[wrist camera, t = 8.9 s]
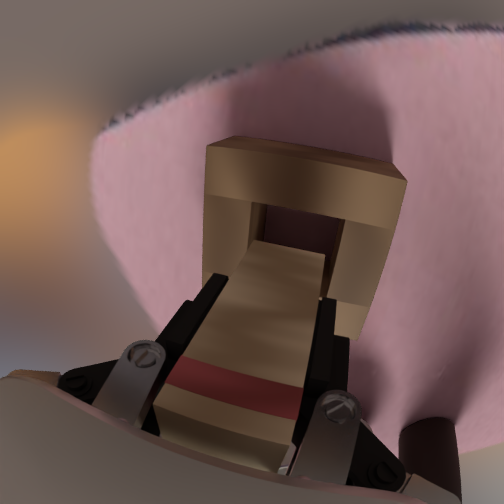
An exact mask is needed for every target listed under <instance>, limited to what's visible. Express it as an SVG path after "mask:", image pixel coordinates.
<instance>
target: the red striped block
mask: <svg viewBox="0 0 504 504" xmlns="http://www.w3.org/2000/svg"><path fill="white" fill-rule="evenodd" d="M324 260H325V255H324V254H320V253H315V252H310V251H305V250H301V249H296V248H291V247H286V246H281V245H276V244H272V243H267V242H262V241H257V240H253V242H252V243H251V245H250V247H249V248H248V250H247V251H246V253H245V255H244V256H243V258H242V260H241V261H240V263H239V264H238V266H237V268H236V269H235V271H234V272H233V274H232V276H231V277H230V279H229V280H228V282H227V284H226V285H225V287H224V289H223V290H222V292H221V293H220V295H219V297H218V298H217V300H216V301H215V303H214V305H213V306H212V308H211V310H210V311H209V313H208V314H207V316H206V318H205V319H204V321H203V322H202V324H201V326H200V327H199V329H198V331H197V332H196V334H195V335H194V337H193V339H192V340H191V342H190V344H189V345H188V347H187V348H186V350H185V352H184V353H183V355H181V356H180V358H179V359H178V361H177V363H176V364H175V366H174V368H173V369H172V371H171V372H170V374H169V376H168V377H167V379H166V380H165V384H164V386H163V387H162V389H161V391H160V392H159V394H158V396H157V397H156V399H155V400H154V402H153V407H154V411H155V415H156V418H157V422H158V425H159V429H160V432H161V436H162V438H163V439H165V440H168V441H170V442H173V443H175V444H178V445H181V446H184V447H186V448H189V449H192V450H195V451H198V452H201V453H204V454H207V455H210V456H213V457H216V458H219V459H223V460H226V461H229V462H233V463H237V464H240V465H244V466H248V467H251V468H255V469H259V470H263V471H268V472H272V473H277V472H278V470H279V468H280V466H281V464H282V462H283V460H284V457H285V455H286V453H287V451H288V449H289V447H290V444H291V440H292V435H293V431H294V427H295V424H296V421H297V418H298V413H299V409H300V404H301V399H302V395H303V390H304V388H303V385H304V380H305V375H306V370H307V365H308V360H309V355H310V349H311V344H312V338H313V332H314V326H315V320H316V314H317V308H318V302H319V295H320V289H321V282H322V275H323V268H324Z"/></svg>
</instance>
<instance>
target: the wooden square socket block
mask: <svg viewBox="0 0 504 504" xmlns="http://www.w3.org/2000/svg"><path fill="white" fill-rule="evenodd" d="M406 186H407V180H406V179H405V177H404V176H403V175H402V174H401V173H400V171H399V170H398V169H397V168H396V167H395V166H394V164H392V163H388V162H384V161H379V160H375V159H371V158H366V157H362V156H357V155H352V154H347V153H342V152H337V151H332V150H327V149H322V148H316V147H310V146H304V145H298V144H292V143H285V142H279V141H272V140H264V139H257V138H249V137H240V136H232V137H229V138H227V139H224V140H221V141H218V142H215V143H212V144H209V145H207V146H206V165H205V187H204V214H203V254H202V288H203V287H204V285H205V284H206V283H207V281H208V280H209V278H210V277H211V276H212V274H213V273H218V274H222V275H227V276H228V277H229V279H230V277H231V276H232V274H233V272H234V271H235V269H236V268H237V266H238V264H239V263H240V261H241V260H242V258H243V256H244V255H245V253H246V251H247V250H248V248H249V247H250V245H251V243H252V242H253V240H257V241H262V242H263V237H264V228H265V220H266V211H267V204H268V205H274V206H279V207H285V208H290V209H295V210H300V211H306V212H311V213H316V214H321V215H326V216H331V217H336V218H340V220H339V225H338V230H337V234H336V239H335V243H334V247H333V252H332V256H331V260H330V261H326V260H324V268H323V275H322V282H321V289H320V295H319V300H322V297H327V298H332V299H336V300H337V306H336V319H335V331H334V335H339V336H344V337H349V339H351V340H358V337H359V335H360V332H361V330H362V327H363V325H364V322H365V320H366V317H367V314H368V312H369V309H370V306H371V303H372V301H373V298H374V295H375V292H376V289H377V286H378V283H379V280H380V277H381V274H382V271H383V268H384V265H385V262H386V259H387V256H388V252H389V249H390V246H391V242H392V239H393V235H394V232H395V228H396V225H397V221H398V217H399V214H400V210H401V206H402V202H403V198H404V194H405V190H406Z"/></svg>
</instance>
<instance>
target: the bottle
mask: <svg viewBox="0 0 504 504" xmlns="http://www.w3.org/2000/svg"><path fill="white" fill-rule="evenodd" d="M399 460H400V461H401V463H402V464H403V466H404V468H405V471H406V473H408V474H410V475H412V474H416V475H418V476H420V477H422V478H424V479H425V480H427V481H429V482H431V483H433V484H435V485H437V486H439V487H441V488H443V489H445V490H447V491H449V492H451V493H453V494H454V495H456V496H457V497H458V498H459V500H460V502H461V504H462V494H461V478H460V467H459V457H458V448H457V440H456V433H455V426H454V424H453V423H452V422H451V421H450V420H448V419H445V418H430V419H425V420H422V421H419V422H417V423H414V424H412V425H410V426H409V427H408V428H406V429H405V430H404V431H403V432H402V433H401V434H400V437H399Z"/></svg>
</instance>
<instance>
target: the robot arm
mask: <svg viewBox="0 0 504 504" xmlns="http://www.w3.org/2000/svg"><path fill="white" fill-rule="evenodd" d="M228 280H229V277H228V276H227V275H222V274H218V273H213V274H212V276H211V277H210V278H209V280H208V281H207V283H206V284H205V285H204V287H203V288H202V289H201V291H200V292H199V294H198V295H197V296H196V298H195V299H194V301H190V300H186V301H185V302H184V303H183V304H182V306H181V307H180V308H179V310H178V311H177V312H176V314H175V315H174V316H173V318H172V319H171V320H170V322H169V323H168V324H167V326H166V327H165V328H164V330H163V331H162V332H161V334H160V335H159V336H158V338H157V339H156V340H155V342H154V341H150V340H140V341H137V342H133V343H132V344H130V345H129V346H128V347H127V348H126V349H125V350H124V352H123V353H122V355H121V357H120V358H119V359H117V360H113V361H108V362H103V363H99V364H94V365H90V366H85V367H80V368H76V369H72V370H69V371H68V372H66V373H64V375H61V374H60V372H51V371H33V370H22V369H20V370H14V371H12V372H10V373H9V374H8V375H7V376H5V377H2V378H0V504H461V502H460V500H459V498H458V497H457V496H456V495H454V494H453V493H451V492H449V491H447V490H445V489H443V488H441V487H439V486H437V485H435V484H433V483H431V482H429V481H427V480H425V479H424V478H422V477H420V476H418V475H416V474H412V475H410V474H408V473H406V471H405V468H404V466H403V464H402V463H401V461H400V460H399V459H398V458H397V457H396V456H395V455H394V454H393V453H392V452H391V451H390V450H389V449H388V448H387V447H386V446H385V445H384V444H383V443H382V442H381V441H380V440H379V439H378V438H377V437H376V436H375V435H374V434H373V433H372V432H371V431H370V430H369V429H368V428H367V427H366V426H365V425H364V424H363V423H362V422H361V421H360V419H361V414H362V408H361V405H360V402H359V401H358V400H357V399H356V397H354V396H353V395H352V394H350V393H348V392H347V382H348V366H349V345H350V339H349V337H344V336H339V335H334V331H335V319H336V306H337V300H336V299H332V298H327V297H322V300H319V302H318V308H317V314H316V320H315V326H314V332H313V338H312V344H311V349H310V355H309V360H308V365H307V370H306V375H305V380H304V385H303V388H304V390H303V395H302V399H301V404H300V409H299V413H298V418H297V421H296V424H295V427H294V431H293V435H292V440H291V442H292V443H293V444H294V445H295V447H296V448H295V451H294V453H293V456H292V458H291V461H290V463H289V466H288V468H287V471H286V473H285V475H281V474H277V473H272V472H268V471H263V470H259V469H255V468H251V467H248V466H244V465H240V464H237V463H233V462H229V461H226V460H223V459H219V458H216V457H213V456H210V455H207V454H204V453H201V452H198V451H195V450H192V449H189V448H186V447H184V446H181V445H178V444H175V443H173V442H170V441H168V440H165V439H163V438H162V436H161V432H160V429H159V425H158V422H157V418H156V415H155V411H154V407H153V402H154V400H155V399H156V397H157V396H158V394H159V392H160V391H161V389H162V387H163V386H164V384H165V380H166V379H167V377H168V376H169V374H170V372H171V371H172V369H173V368H174V366H175V364H176V363H177V361H178V359H179V358H180V356H181V355H183V353H184V352H185V350H186V348H187V347H188V345H189V344H190V342H191V340H192V339H193V337H194V335H195V334H196V332H197V331H198V329H199V327H200V326H201V324H202V322H203V321H204V319H205V318H206V316H207V314H208V313H209V311H210V310H211V308H212V306H213V305H214V303H215V301H216V300H217V298H218V297H219V295H220V293H221V292H222V290H223V289H224V287H225V285H226V284H227V282H228Z"/></svg>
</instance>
